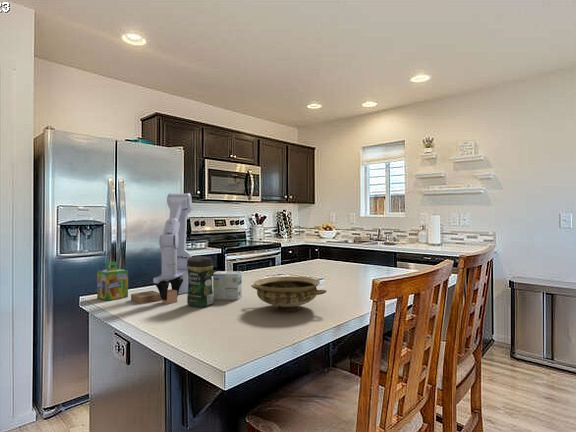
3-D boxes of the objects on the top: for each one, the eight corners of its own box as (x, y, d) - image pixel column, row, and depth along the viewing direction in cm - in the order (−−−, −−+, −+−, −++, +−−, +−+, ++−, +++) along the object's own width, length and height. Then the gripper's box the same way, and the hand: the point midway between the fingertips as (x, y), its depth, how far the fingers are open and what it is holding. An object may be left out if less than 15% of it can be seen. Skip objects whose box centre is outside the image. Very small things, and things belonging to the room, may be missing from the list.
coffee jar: (183, 305, 138) (182, 256, 138) (198, 301, 145) (198, 254, 145) (201, 308, 133) (201, 258, 133) (217, 304, 140) (216, 255, 140)
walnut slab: (152, 297, 154) (152, 290, 154) (162, 301, 148) (162, 293, 148) (131, 301, 148) (130, 294, 148) (139, 305, 141) (139, 297, 141)
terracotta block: (172, 300, 147) (172, 289, 147) (177, 302, 144) (177, 290, 144) (162, 302, 144) (162, 290, 144) (167, 303, 141) (167, 292, 141)
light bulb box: (242, 296, 153) (242, 270, 153) (238, 300, 146) (238, 273, 146) (217, 296, 154) (217, 270, 154) (212, 299, 147) (212, 273, 147)
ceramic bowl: (338, 305, 135) (337, 279, 135) (310, 322, 114) (310, 291, 114) (269, 297, 150) (268, 273, 150) (233, 311, 129) (233, 283, 129)
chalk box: (107, 301, 146) (106, 264, 146) (96, 298, 152) (95, 263, 152) (129, 297, 154) (128, 262, 154) (117, 294, 159) (117, 260, 159)
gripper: (174, 261, 152) (175, 293, 152) (147, 265, 139) (147, 301, 139) (187, 262, 149) (188, 295, 149) (161, 266, 136) (161, 303, 136)
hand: (169, 298), depth 144 cm, fingers closed on terracotta block, 5 cm apart
